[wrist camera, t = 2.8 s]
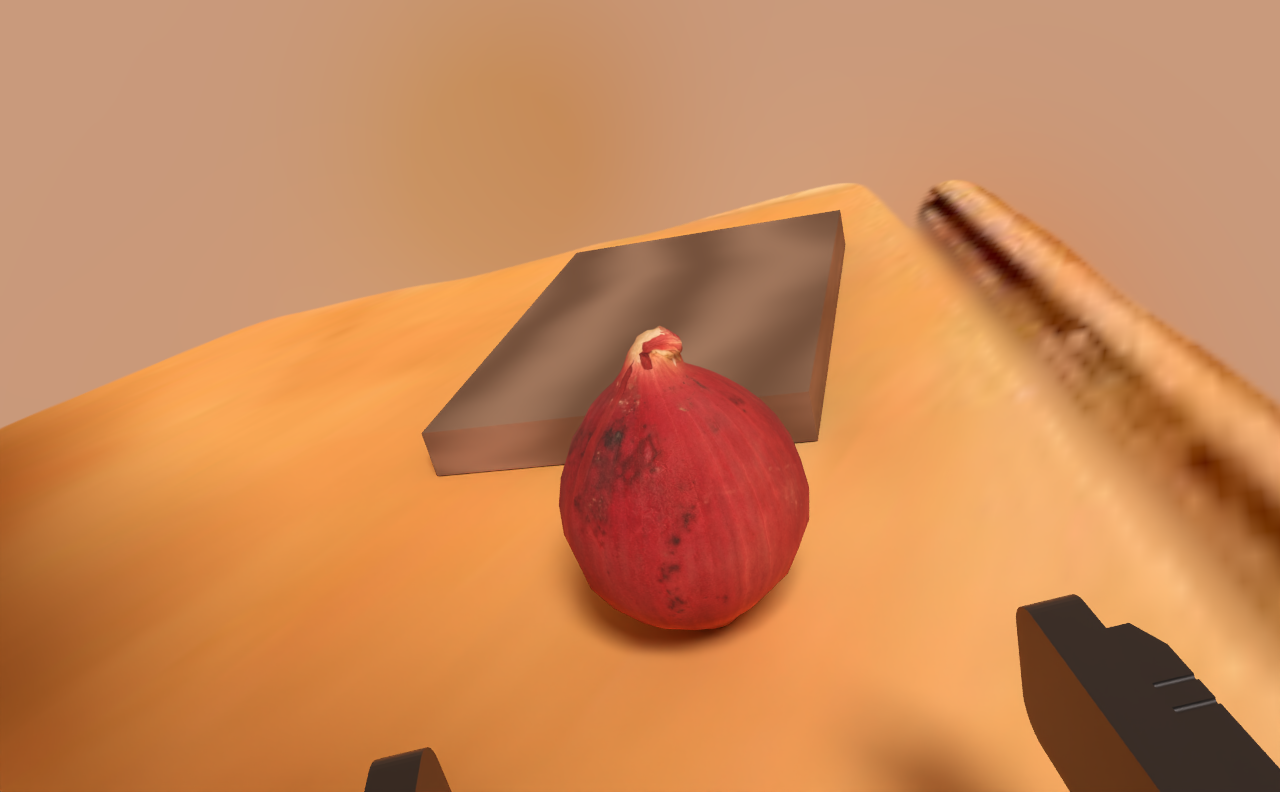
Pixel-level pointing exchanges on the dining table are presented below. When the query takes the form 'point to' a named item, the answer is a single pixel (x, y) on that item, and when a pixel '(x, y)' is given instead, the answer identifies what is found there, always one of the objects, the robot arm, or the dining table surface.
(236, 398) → the dining table surface
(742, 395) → the onion
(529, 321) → the cutting board
